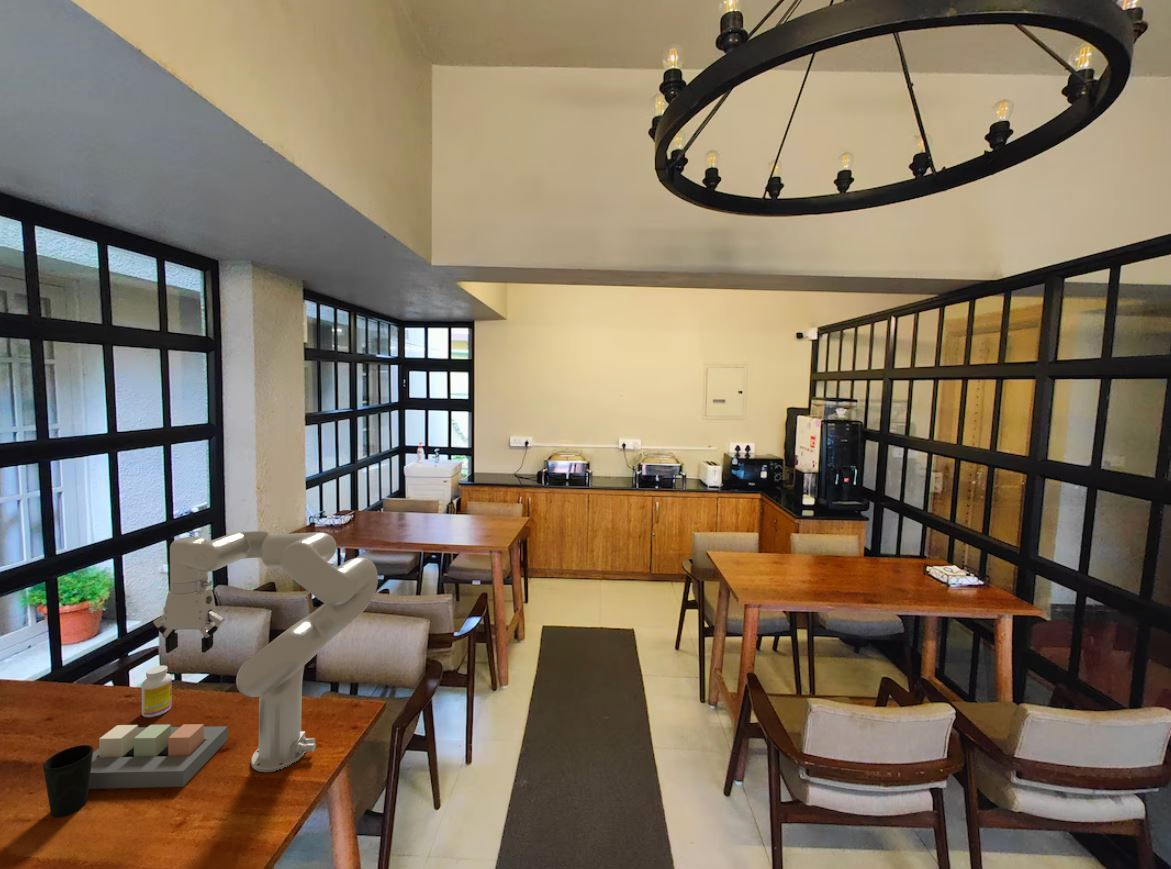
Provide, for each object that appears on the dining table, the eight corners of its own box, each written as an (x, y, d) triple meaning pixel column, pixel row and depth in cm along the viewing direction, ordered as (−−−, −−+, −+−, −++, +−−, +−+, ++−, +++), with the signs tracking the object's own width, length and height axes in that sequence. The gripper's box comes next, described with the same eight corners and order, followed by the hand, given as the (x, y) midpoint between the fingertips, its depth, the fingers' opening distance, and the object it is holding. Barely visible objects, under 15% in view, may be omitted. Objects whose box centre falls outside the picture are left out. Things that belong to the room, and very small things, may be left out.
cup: (92, 788, 113) (91, 739, 112) (95, 806, 108) (95, 755, 107) (43, 808, 107) (42, 757, 106) (44, 828, 102) (43, 775, 101)
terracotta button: (203, 742, 124) (203, 724, 124) (189, 756, 119) (189, 737, 119) (183, 742, 124) (183, 724, 124) (168, 756, 119) (168, 737, 119)
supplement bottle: (175, 709, 142) (175, 668, 141) (146, 721, 136) (146, 678, 135) (166, 701, 145) (167, 661, 144) (138, 712, 139) (138, 670, 139)
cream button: (138, 743, 123) (138, 724, 123) (121, 757, 118) (120, 738, 118) (117, 743, 122) (117, 725, 122) (99, 757, 117) (99, 738, 117)
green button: (171, 742, 124) (171, 724, 123) (155, 756, 119) (155, 737, 118) (150, 743, 123) (150, 724, 123) (134, 757, 118) (133, 738, 118)
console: (227, 740, 130) (227, 726, 130) (183, 786, 114) (183, 770, 114) (125, 741, 128) (125, 727, 128) (66, 789, 112) (66, 773, 112)
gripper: (234, 580, 128) (233, 642, 129) (165, 579, 126) (165, 643, 127) (214, 590, 120) (214, 657, 121) (141, 590, 119) (141, 657, 120)
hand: (189, 649), depth 124 cm, fingers open, 8 cm apart
